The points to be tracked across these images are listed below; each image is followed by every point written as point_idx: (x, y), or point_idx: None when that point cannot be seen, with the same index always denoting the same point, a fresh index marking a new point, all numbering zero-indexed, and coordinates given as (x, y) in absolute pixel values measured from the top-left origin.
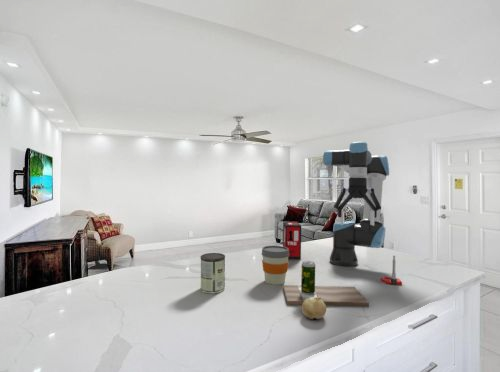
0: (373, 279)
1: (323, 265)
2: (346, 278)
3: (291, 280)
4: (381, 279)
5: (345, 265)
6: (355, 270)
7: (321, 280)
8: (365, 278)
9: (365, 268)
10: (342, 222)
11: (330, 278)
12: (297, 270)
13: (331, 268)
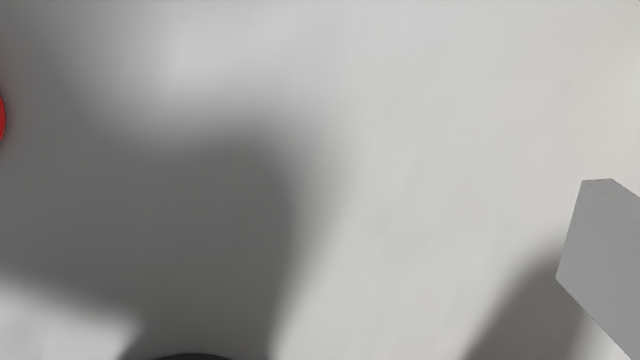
0: (62, 128)
1: (327, 345)
2: (254, 129)
3: (606, 61)
4: (2, 110)
5: (192, 356)
6: (145, 289)
7: (430, 76)
8: (117, 143)
9: (63, 337)
10: (630, 205)
11: (361, 119)
12: (509, 237)
13: (295, 301)
